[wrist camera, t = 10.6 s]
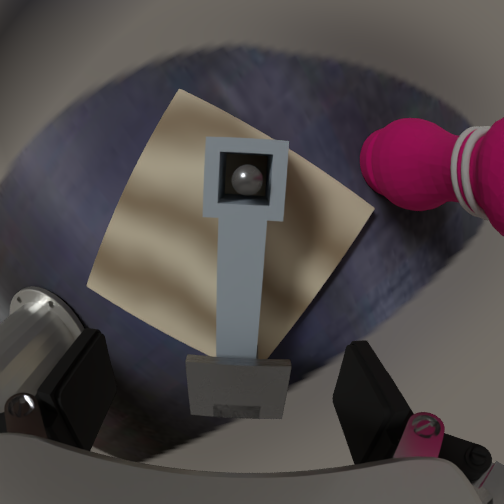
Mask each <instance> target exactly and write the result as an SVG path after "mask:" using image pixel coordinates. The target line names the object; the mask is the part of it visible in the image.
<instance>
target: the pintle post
mask: <svg viewBox="0 0 504 504" xmlns="http://www.w3.org/2000/svg"><path fill="white" fill-rule="evenodd" d="M262 183H263V177H262V174H261V172H260V171H259V170H258V169H257V168H256V167H255V166H254V165H251V164H244V165H242V166H240V167H238V168H237V169H236V170H235V171H234V173H233V175H232V185H233V188H234V189H235V190H236V191H237V192H238V193H239V194H242V195H246V196H248V195H253V194H255V193H257V192H258V191H259V190H260V188H261V186H262Z"/></svg>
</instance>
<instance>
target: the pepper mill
mask: <svg viewBox="0 0 504 504" xmlns="http://www.w3.org/2000/svg"><path fill="white" fill-rule="evenodd" d="M360 167H361V171H362V174H363V176H364V178H365V181H366V182H367V184H368V185H369V186H370V187H371V188H372V189H373V190H374V191H376V192H377V193H379V194H381V195H384V196H385V197H386V198H387V199H388V200H389V201H390V202H392V203H393V204H395V205H397V206H399V207H401V208H404V209H408V210H414V211H424V210H429V209H434V208H436V207H439V206H440V205H442V204H444V203H446V202H448V201H453V202H459V203H460V204H461V206H462V207H463V208H464V209H465V210H466V211H467V212H468V213H470V214H471V215H473V216H476V217H481V218H482V219H484V220H489V221H490V223H491V224H492V226H493V227H494V228H495V229H496V230H497V231H498V232H499V233H500V234H501V235H502V236H504V118H502V119H500V120H498V121H496V122H495V123H494V124H493V125H492V126H483V127H476V126H475V127H471V128H468V129H466V130H465V131H464V132H463V133H462V134H461V135H460V136H456V135H453V134H451V133H449V132H447V131H445V130H444V129H442V128H441V127H439V126H438V125H436V124H434V123H432V122H429V121H426V120H422V119H418V118H404V119H399V120H396V121H393V122H392V123H390V124H388V125H387V126H386V127H385V128H383V129H380V130H377V131H375V132H373V133H372V134H371V135H370V136H369V137H368V138H367V139H366V141H365V142H364V144H363V146H362V149H361V154H360Z"/></svg>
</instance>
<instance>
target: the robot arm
mask: <svg viewBox="0 0 504 504" xmlns="http://www.w3.org/2000/svg"><path fill="white" fill-rule="evenodd" d="M116 390H117V386H116V382H115V378H114V374H113V370H112V366H111V362H110V358H109V354H108V349H107V345H106V340H105V336H104V334H101V332H100V330H97V329H91V328H85V329H84V327H83V325H82V324H81V322H80V321H79V319H78V317H77V316H76V315H75V313H74V312H73V311H72V310H71V308H70V307H69V306H68V305H67V304H66V303H65V302H64V301H63V300H61V299H60V298H59V297H57V296H56V295H55V294H53V293H51V292H50V291H48V290H46V289H43V288H40V287H33V286H32V287H26V288H24V289H22V290H21V291H19V292H18V293H17V294H16V295H15V296H14V298H13V299H12V302H11V305H10V316H9V317H8V318H6V319H5V320H4V321H3V322H2V323H0V504H504V465H502V464H501V463H499V462H497V461H496V462H495V463H492V457H491V454H490V452H489V451H488V450H487V449H486V448H485V447H483V446H481V445H479V444H475V443H472V442H469V441H466V440H463V439H460V438H457V437H454V436H451V435H448V434H445V433H444V424H443V422H442V421H441V419H440V418H438V417H437V416H436V415H433V414H431V413H427V412H420V413H416V414H413V412H412V410H411V409H410V407H409V406H408V404H407V402H406V400H405V399H404V397H403V396H402V394H401V392H400V391H399V389H398V388H397V386H396V384H395V383H394V381H393V380H392V378H391V376H390V375H389V373H388V372H387V371H386V370H385V368H384V366H383V365H382V363H381V362H380V360H379V359H378V357H377V355H376V354H375V352H374V351H373V350H372V348H371V346H370V345H369V343H368V342H367V341H352V342H351V344H350V345H347V347H346V350H345V354H344V358H343V361H342V365H341V369H340V373H339V376H338V380H337V383H336V387H335V390H334V393H333V404H334V407H335V409H336V412H337V415H338V418H339V421H340V424H341V427H342V429H343V432H344V435H345V438H346V441H347V444H348V446H349V449H350V453H351V456H352V459H353V461H354V464H355V465H349V466H343V467H335V468H326V469H319V470H308V471H296V472H279V473H225V472H207V471H195V470H185V469H177V468H169V467H162V466H155V465H149V464H144V463H138V462H133V461H128V460H123V459H119V458H115V457H110V456H106V455H102V454H98V453H94V452H91V451H90V450H91V448H92V446H93V443H94V441H95V439H96V436H97V434H98V432H99V429H100V427H101V425H102V423H103V420H104V418H105V416H106V414H107V411H108V409H109V407H110V405H111V403H112V400H113V398H114V396H115V394H116Z"/></svg>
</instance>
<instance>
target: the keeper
mask: <svg viewBox="0 0 504 504" xmlns="http://www.w3.org/2000/svg"><path fill="white" fill-rule="evenodd" d="M186 372H187V383H188V393H189V402H190V411H191V414H192V415H202V416H214V417H229V418H253V419H282V415H283V410H284V405H285V400H286V395H287V389H288V384H289V378H290V372H291V362H290V359H259V357H258V345H257V353H256V359H248V358H228V357H212V356H199V355H187V358H186Z"/></svg>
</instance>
